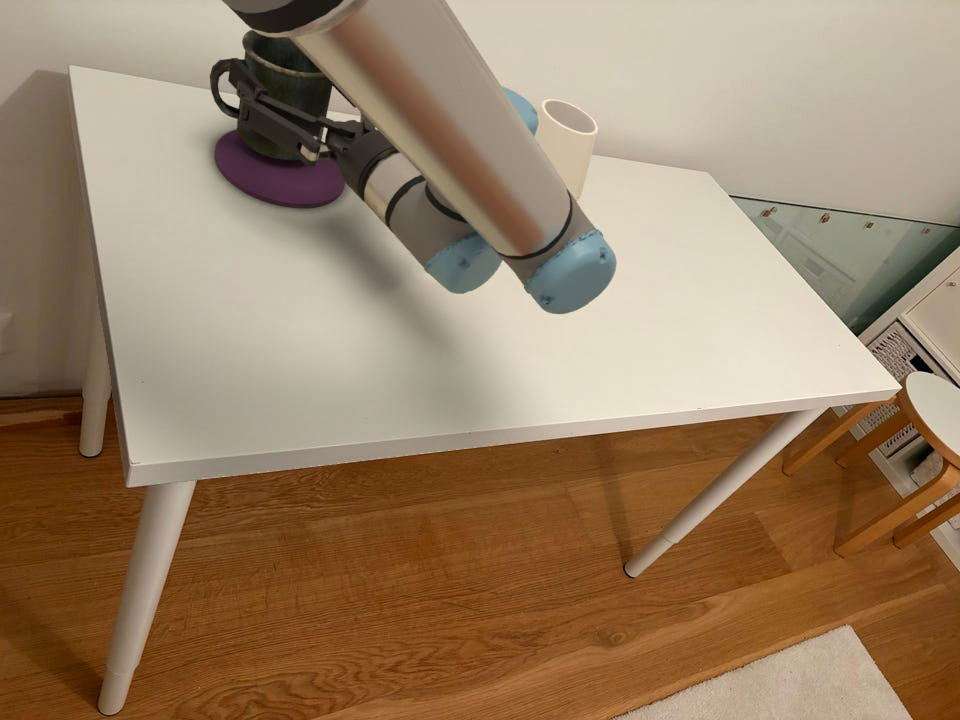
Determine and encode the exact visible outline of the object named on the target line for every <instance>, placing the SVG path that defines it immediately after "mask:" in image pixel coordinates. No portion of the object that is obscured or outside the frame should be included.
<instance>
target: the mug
mask: <svg viewBox="0 0 960 720" xmlns="http://www.w3.org/2000/svg"><path fill="white" fill-rule="evenodd" d="M241 43H242V47H243V50H244V56H243V57H244V59H242V58H238V59H239V60H240V61H241V62H242V63H243V64H244V65H245V67H246V68H247V69H248V70H249V71H250V72H251V73H252V74H253V75H254V76H255V77H256V78H257V79H258V81H259V82H260V83H261V84H262V85H263V86H264V87H265V88H266V89H267V90H268V95H267V96H268V97H270V98H272V99H275V100H277V101H279V102H282V103H284V104H286V105H289V106H291V107H293V108H295V109H298V110H300V111H302V112H305V113H307V114H309V115H311V116H314V117H316V118H318V117H319V116H324V117H326V118H327V115H328V110H329V106H330V100H331V95H332V90H333V83H332V82H331V81H330V80H329V79H328V78H327V77H326V76H325V74H324V73H323V72H322V71H321V70H320V69H319V68H318V67H317V66H316V65H315V64H314V63H313V62H312V61H311V60H310V59H309V58H308V57H307V56H306V55H305V54H304V53H303V52H302V51H301V50H300V49H299V48H298V47H297V46H296V45H295V44H294V42H293V41H292V40H291V39H290V38H289V37H278V38H276V37H267V36H264V35H261V34H258V33H257V32H255V31H254V30H252V29H250V30H248V31H246V32H245V34H244V35H243V36H242V40H241ZM230 63H231V58H223V59H219V60H218V61H217V62H216V63H215V64H213V66H212V68H211V69H210V74H209V84H210V92H211V95H212V98H213V101H214V103H215V105H216V106H217V107H218V108H219V110H220V111H221V112H222V113H223V114H225V115H226V116H228V117H230V118H232V119H235V120H237V122H236V129H237V131H238V134H239V135H240V137H241V139H242V140H243V142H244V143H245V144H246V145H247V146H249V147H250V148H251V149H253V150H255V151H256V152H258V153H261V154H263V155H265V156H269V157H272V158H276V159H282V160H300V158H299V157H297V156H296V155H295V154H293V153H292V152H290V151H288V150H287V149H285V148H283V147H282V146H280V145H278V144H276V143H275V142H273V141H271V140H270V139H268V138H266V137H265V136H263V135H261V134H260V133H258V132H256V131H255V130H253V129H251V128H250V127H248V126H246V125H244V124H243V123H241V122H240V121H239V116H240V110H241V103H242V100H241V99H240V98H239V103H238V108H237V107H235V106H232V105H230V104H228V103H227V102H225V101H224V100H223V98H222V97H221V93H220V88H219V81H220V78H221V77H222V76H223V74H225V73H229V70H230ZM324 130H325V127H323V130H322V134H321V141H323V140H322V139H323V136H324Z"/></svg>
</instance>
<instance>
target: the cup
mask: <svg viewBox="0 0 960 720" xmlns="http://www.w3.org/2000/svg"><path fill="white" fill-rule="evenodd" d="M535 110H536V111H537V117H538V121H539V124H538V128H537V131H536V134H535V139H536V140H537V142H538V143H539V145H540V146H541V148H542V149H543V151H544V153H545V154H546V156H547V157H548V159H549V160H550V162H551V163H552V165H553V166H554V168H555V169H556V171H557V172H558V174H559V176H560V177H561V179H562V180H563V182H564V183H565V185H566V188H567V189H568V190H569V191H570V193H571V194H572V196H573V197H574V199H575V201H576V202H578V201H579V199H580V198H581V196H582V193H583V190H584V186H585V182H586V179H587V175H588V171H589V167H590V162H591V159H592V155H593V152H594V148H595V143H596V139H597V135H598V132H599V126H598V125H597V122H596V120H594V118H592V116H591V115H590V114H588V112H586V111H584V110H583V109H581V108H580V107H578V106H577V105H574V104H572V103H571V102H568V101H565V100H561V99H554V98H548V99H545V100H543V101H542V102H541V103H540V104H539V105H538V106H537V108H535Z"/></svg>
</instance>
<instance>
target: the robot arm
mask: <svg viewBox="0 0 960 720" xmlns="http://www.w3.org/2000/svg"><path fill="white" fill-rule="evenodd" d="M221 2H223V3H224V4H225V5H226V6H227V7H228V8H229V9H230V10H231V11H232V12H233V13H234V14H235V15H237V17H238V18H239V19H240V20H241V21H242V22H243V23H244V24H245V25H247V27H248V28H249V29H250V30H254V31H255V32H257V33H258V34H261V35H264V36H267V37H276V38H278V37H289V38H290V39H291V40H292V41H293V42H294V44H295V45H296V46H297V47H298V48H299V49H300V50H301V51H302V52H303V53H304V54H305V55H306V56H307V57H308V58H309V59H310V60H311V61H312V62H313V63H314V64H315V65H316V66H317V67H318V68H319V69H320V70H321V71H322V72H323V73H324V74H325V76H326V77H327V78H328V79H329V80H330V81H331V82H332V83H333V86H332V88H334V89H335V90H336V91H337V92H338V93H339V94H340V95H341V96H342V97H343V98H344V99H345V100H346V101H347V102H348V103H349V104H350V105H351V106H352V107H354V109H355V108H356V109H357V110H358V111H359V113H360V120H359V121H357V120H356V119H349V120H346V121H343V120H341V121H340V120H333V119H331V118H329V117H327V116H326V117H324V116H319V117H318V118H316V117H314V116H311V115H309V114H307V113H305V112H302V111H300V110H298V109H295V108H293V107H291V106H289V105H286V104H284V103H282V102H279V101H277V100H275V99H272V98H270V97H268V96H267V95H268V90H267V89H266V88H265V87H264V86H263V85H262V84H261V83H260V82H259V81H258V79H257V78H256V77H255V76H254V75H253V74H252V73H251V72H250V71H249V70H248V69H247V68H246V67H245V65H244V64H243V63H242V62H241V61H240V60H239V59H240V58H238V57H231V58H230V59H231V63H230V70H229V72H228V78H227V81H228V82H229V84H230V85H231V86H232V87H233V88H234V89H235V90H236V91H235V94H236V96H237V97H238V99H239V100H240V99H241V100H242V103H241V110H240V116H239V121H240V122H241V123H243V124H244V125H246V126H248V127H250V128H251V129H253V130H255V131H256V132H258V133H260V134H261V135H263V136H265V137H266V138H268V139H270V140H271V141H273V142H275V143H276V144H278V145H280V146H282V147H283V148H285V149H287V150H288V151H290V152H292V153H293V154H295V155H296V156H297V157H299V158H300V159H301V160H302V161H303V162H304V163H305V164H306V165H307V166H309V167H315V166H316V163H317V160H318V159H323V158H328V159H329V160H330V161H332V162H334V163H336V164H337V165H338V166H339V167H340V170H341V172H342V175H343V178H344V180H345V184H347V186H348V187H349V188H350V189H351V190H352V191H353V192H354V194H355V195H356V196H357V197H358V198H359V199H360V200H361V201H362V202H363V203H365V205H367V207H368V208H369V209H370V210H371V211H372V212H373V214H375V216H377V218H379V220H380V221H381V222H382V223H383V224H384V225H385V226H386V227H387V228H388V230H389V231H390V232H391V233H392V234H393V235H394V236H395V238H396V239H397V240H399V242H400V243H401V244H402V245H403V246H404V248H405V249H406V250H407V251H408V252H409V253H410V255H412V256H413V258H414V259H415V260H416V261H417V262H418V263H419V264H420V266H421V267H422V268H423V270H424V271H425V272H426V273H427V274H428V275H430V277H432V278H433V279H434V280H435V281H436V282H437V283H438V284H439V285H441V286H442V287H443V288H444V289H445V290H446V291H448V292H450V293H452V294H455V295H461V294H462V295H464V294H467V293H469V292H472V291H473V292H474V291H475V290H477V289H478V288H480V287H482V286H483V285H484V284H486V283H487V282H488V281H489V280H490V279H491V278H492V277H493V276H494V275H495V274H496V272H497V271H498V270H499V268H500V267H501V265H502V262H504V263H505V264H506V265H507V266H508V267H509V268H510V270H511V271H512V272H513V273H514V274H515V276H516V277H517V278H518V279H519V282H521V284H522V286H523V289H524V290H525V292H526V293H527V294H529V295H530V297H532V299H533V300H534V301H535V303H537V305H538V306H539V307H540V308H541V309H542V310H543V311H545V312H546V313H548V314H552V315H566V314H570V313H573V312H576V311H578V310H581V309H582V308H584V307H585V306H586V307H587V305H589V304H590V303H591V302H592V301H594V300H595V299H596V298H598V297H599V296H600V295H602V293H604V291H605V290H606V289H607V288H608V286H610V284H611V282H612V280H613V278H614V276H615V274H616V271H617V257H616V254H615V251H614V250H613V249H612V248H611V246H610V244H609V243H608V242H607V241H606V239H605V238H604V234H603V233H602V231H601V230H600V229H599V228H598V229H597V227H595V225H594V224H593V223H592V222H591V220H590V219H589V217H588V216H587V215H586V214H585V212H584V211H583V210H582V208H581V207H580V205H579V203H578V201H575V199H574V197H573V196H572V194H571V193H570V191H569V190H568V189H567V188H566V185H565V183H564V182H563V180H562V179H561V177H560V176H559V174H558V172H557V171H556V169H555V168H554V166H553V165H552V163H551V162H550V160H549V159H548V157H547V156H546V154H545V153H544V151H543V149H542V148H541V146H540V145H539V143H538V142H537V140H536V139H535V134H536V131H537V128H538V124H539V121H538V117H537V111H536V108H535V107H534V105H533V104H532V103H531V102H530V101H529V100H527V99H526V98H525V97H524V96H523V95H521V94H519V93H517V92H516V91H514V90H513V89H510V88H508V87H505V86H503V85H501V83H500V82H499V80H498V79H497V77H496V76H495V74H494V72H493V71H492V69H491V67H489V65H488V63H487V62H486V60H485V59H484V57H483V56H482V54H481V53H480V51H479V49H478V48H477V47H476V45H475V44H474V42H473V40H472V39H471V37H470V36H469V34H468V32H467V31H466V29H465V28H464V26H463V25H462V23H461V21H459V19H458V17H457V16H456V14H455V12H454V11H453V10H452V8H451V6H450V5H449V4H448V2H447V0H221ZM323 127H324V129H326V134H325V137H324V141H323V140H321V134H322V130H323ZM323 131H324V130H323Z"/></svg>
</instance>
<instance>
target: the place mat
mask: <svg viewBox="0 0 960 720" xmlns="http://www.w3.org/2000/svg"><path fill="white" fill-rule="evenodd" d="M214 161H215V164H216V167H217V168H218V170H219V171H220V173H221V174H222V175H223V176H224V178H225V179H226V180H227V181H228V182H229V183H231V184H232V185H233V186H235V187H236V188H237V189H239V190H240V191H242V192H244V193H246V194H247V195H250V196H252V197H254V198H256V199H259V200H261V201H263V202H267V203H269V204H273V205H277V206H282V207H288V208H297V209H298V208H299V209H301V208H304V209H305V208H306V209H308V208H316V207H322V206H324V205H328V204H330V203H332V202H334V201H335V200H336V199H337V198H339V196H341V195H342V192H343V191H344V188H345V184H346V182H345V180H344V178H343V175H342V172H341V170H340V167H339V166H338V165H337V164H336V163H334V162H332V161H330V160H329V159H328V158H323V159H318V160H317V163H316V166H315V167H309V166H307V165H306V164H305V163H304V162H303V161H302V160H301V159H300V160H282V159H276V158H272V157H269V156H265V155H263V154H261V153H258V152H256V151H255V150H253V149H251V148H250V147H249V146H247V145H246V144H245V143H244V142H243V140H242V139H241V137H240V135H239V134H238V131H237V128H236V129H233V130H230V131H228V132H226V133H225V134H223V135H222V136H221V137H220V138H219V139H218V140H217V142H216V144H215V147H214Z"/></svg>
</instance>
